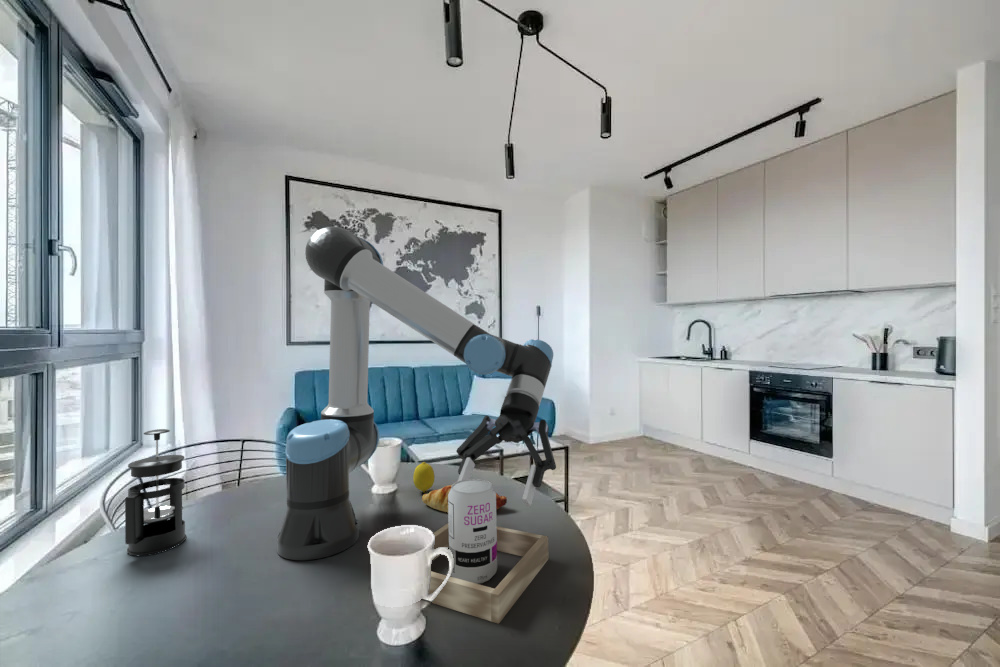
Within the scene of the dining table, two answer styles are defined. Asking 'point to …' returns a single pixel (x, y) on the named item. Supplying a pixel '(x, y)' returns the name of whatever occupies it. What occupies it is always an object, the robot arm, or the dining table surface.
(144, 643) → the dining table surface
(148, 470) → the french press
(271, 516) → the dining table surface
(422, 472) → the lemon
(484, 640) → the dining table surface
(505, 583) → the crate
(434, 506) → the croissant
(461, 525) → the supplement can
